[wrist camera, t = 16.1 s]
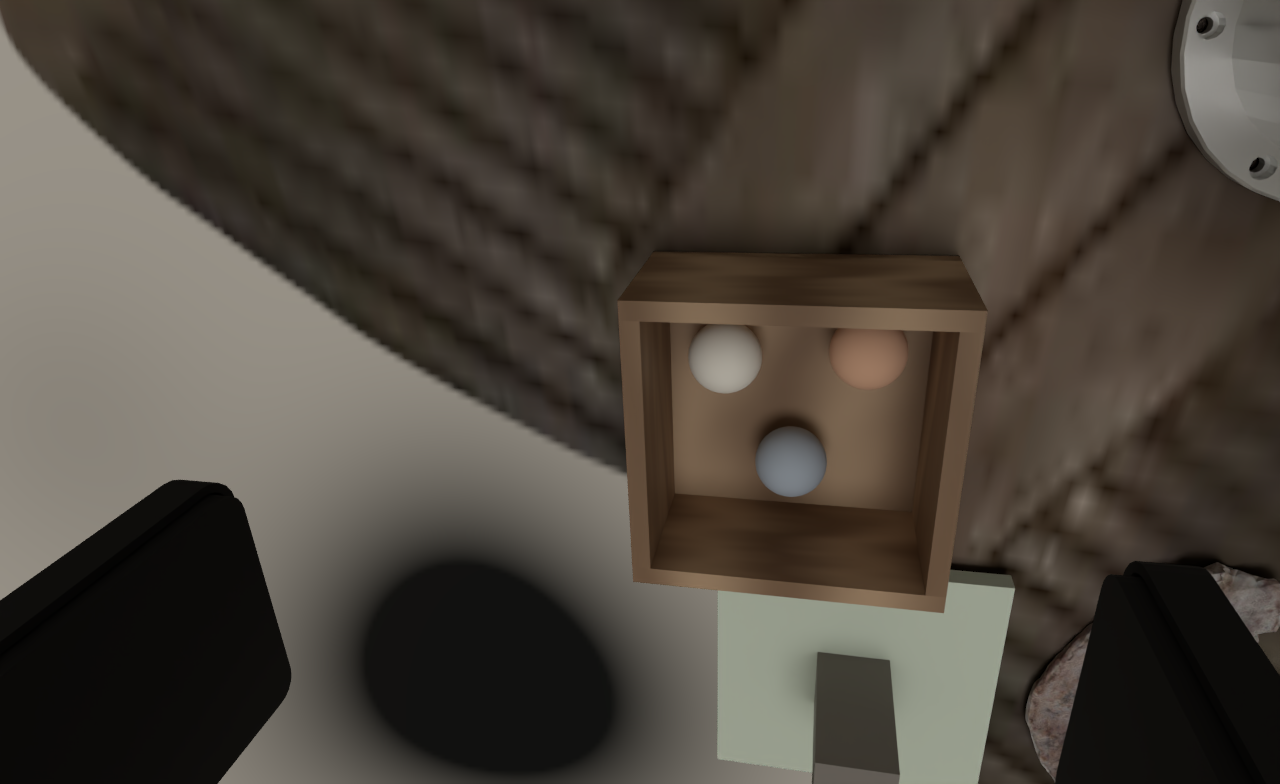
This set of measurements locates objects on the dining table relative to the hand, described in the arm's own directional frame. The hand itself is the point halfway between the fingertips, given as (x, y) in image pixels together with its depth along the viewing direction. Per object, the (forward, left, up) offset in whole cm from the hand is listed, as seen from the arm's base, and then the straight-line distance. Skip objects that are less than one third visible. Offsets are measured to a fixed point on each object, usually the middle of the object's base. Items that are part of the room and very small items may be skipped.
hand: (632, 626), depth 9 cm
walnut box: (-1, +10, -28) cm, 30 cm away
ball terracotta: (-4, +7, -26) cm, 27 cm away
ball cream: (+2, +8, -26) cm, 27 cm away
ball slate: (-1, +13, -26) cm, 29 cm away
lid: (-5, +26, -28) cm, 38 cm away
